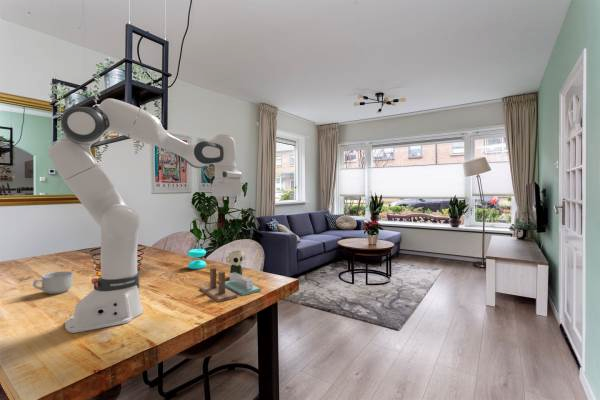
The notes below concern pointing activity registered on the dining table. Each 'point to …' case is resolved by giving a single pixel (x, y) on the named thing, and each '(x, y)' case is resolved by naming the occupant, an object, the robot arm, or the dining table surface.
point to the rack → (218, 287)
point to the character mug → (235, 261)
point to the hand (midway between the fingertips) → (225, 207)
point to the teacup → (55, 282)
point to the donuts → (197, 263)
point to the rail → (241, 281)
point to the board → (241, 290)
